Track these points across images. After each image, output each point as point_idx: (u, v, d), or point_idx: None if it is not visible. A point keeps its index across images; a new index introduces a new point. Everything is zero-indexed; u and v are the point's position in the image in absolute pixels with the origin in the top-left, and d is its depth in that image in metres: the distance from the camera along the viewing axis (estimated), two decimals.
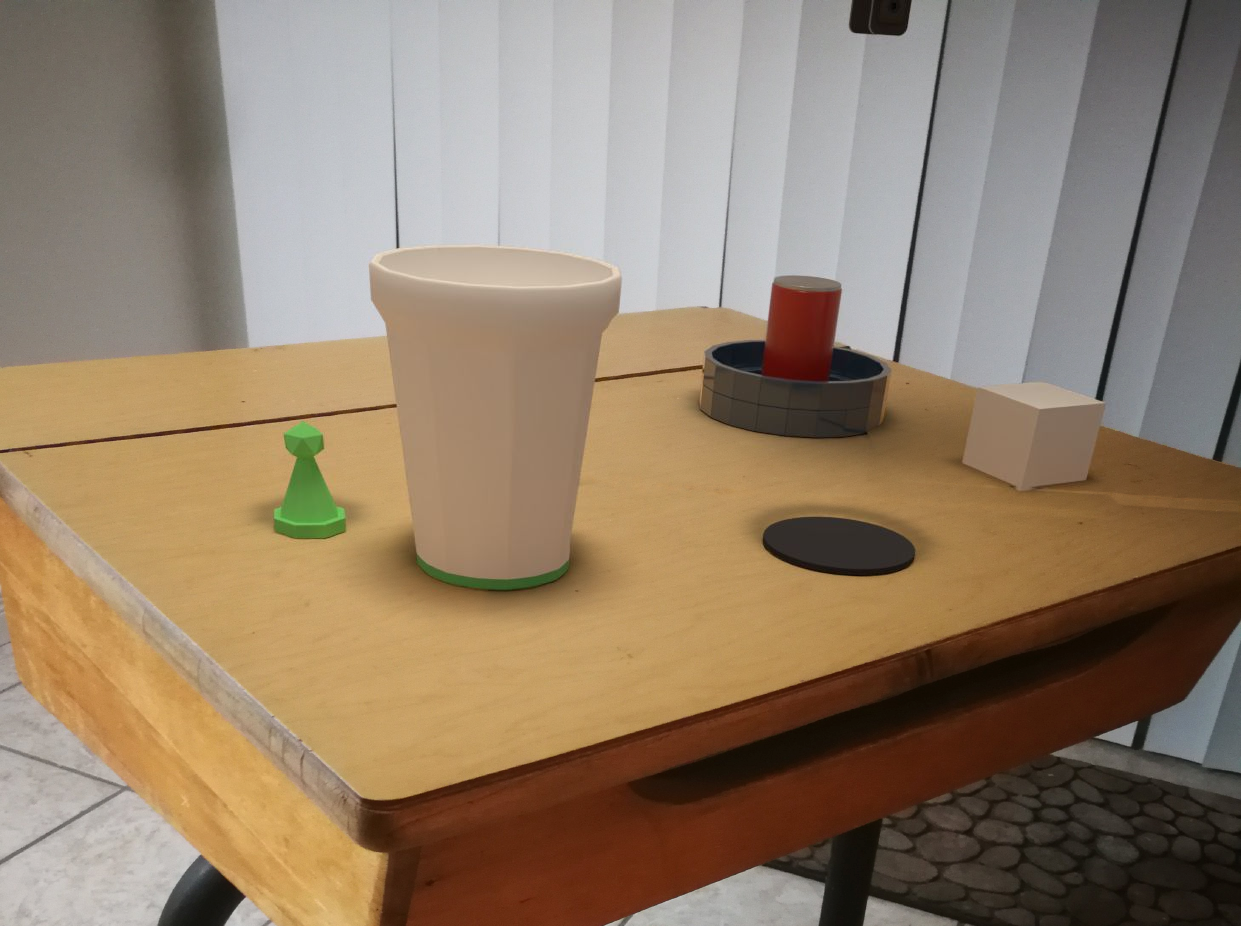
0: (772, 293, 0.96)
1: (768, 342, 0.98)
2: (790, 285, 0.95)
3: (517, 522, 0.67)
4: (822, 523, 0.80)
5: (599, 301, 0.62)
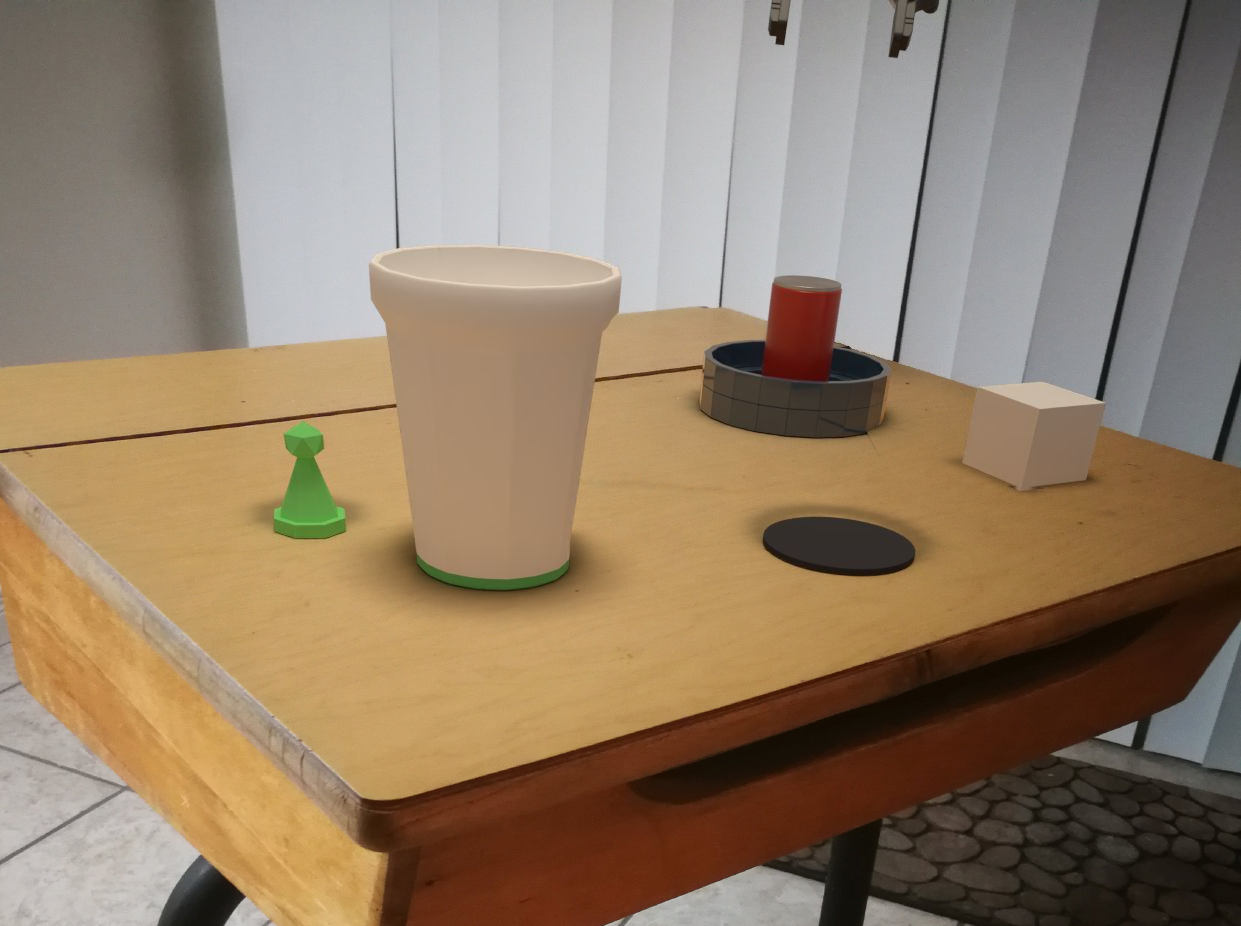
0: (772, 293, 0.96)
1: (768, 342, 0.98)
2: (790, 285, 0.95)
3: (517, 522, 0.67)
4: (822, 523, 0.80)
5: (599, 301, 0.62)
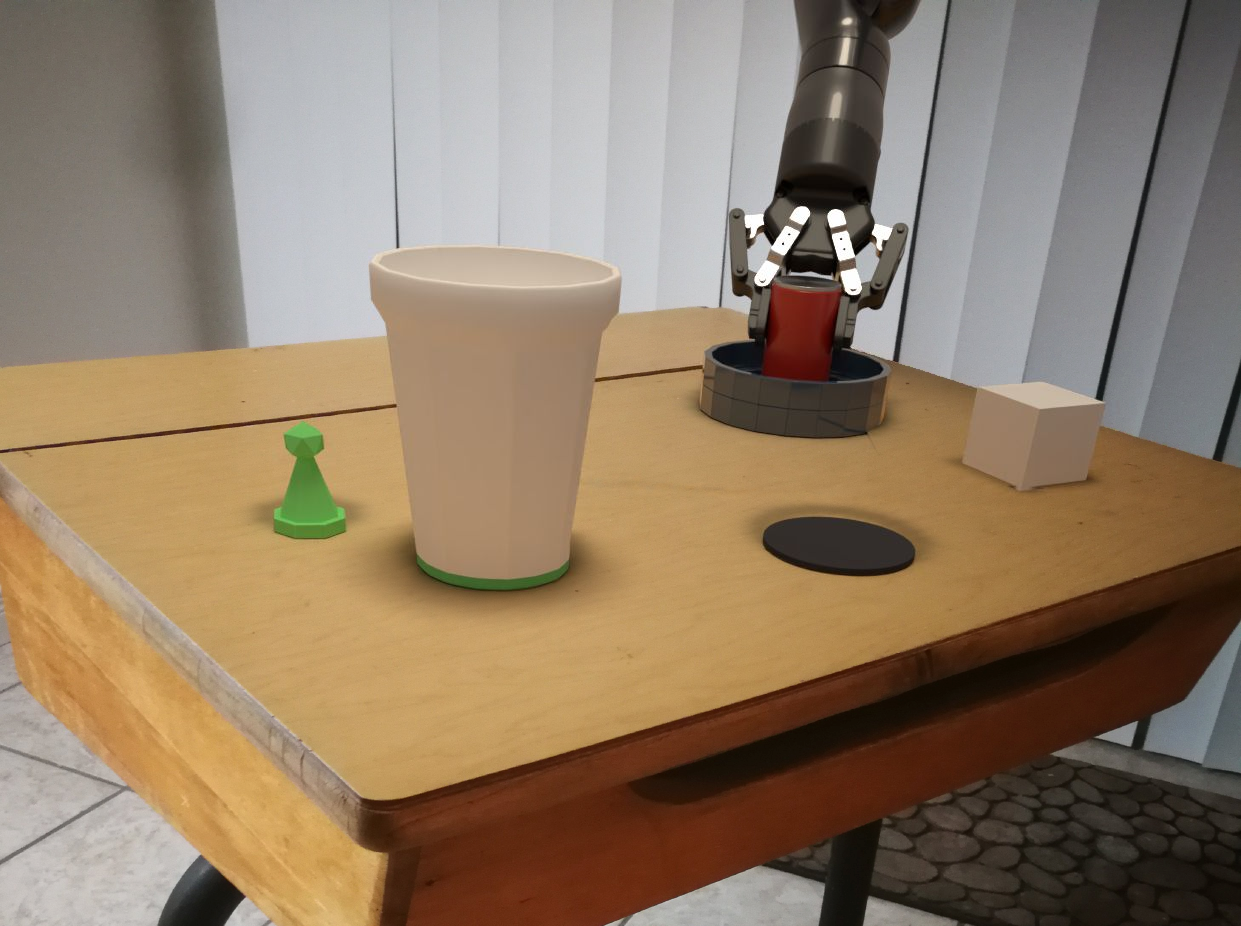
0: (772, 293, 0.96)
1: (768, 342, 0.98)
2: (790, 285, 0.95)
3: (517, 522, 0.67)
4: (822, 523, 0.80)
5: (599, 301, 0.62)
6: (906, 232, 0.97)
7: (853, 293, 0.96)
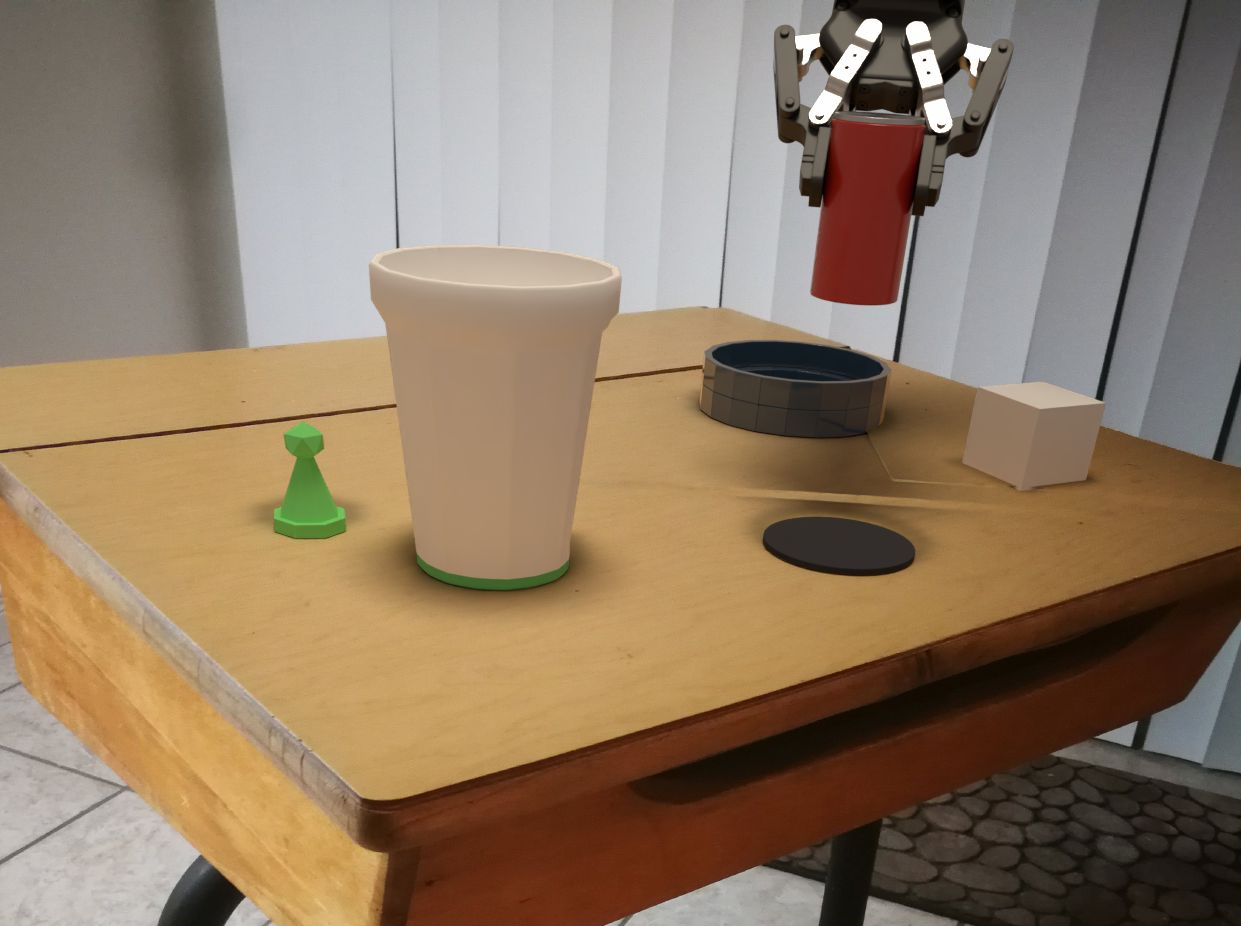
0: (833, 131, 0.73)
1: (826, 199, 0.74)
2: (858, 116, 0.71)
3: (517, 522, 0.67)
4: (822, 523, 0.80)
5: (599, 301, 0.62)
6: (1011, 51, 0.73)
7: (941, 131, 0.72)
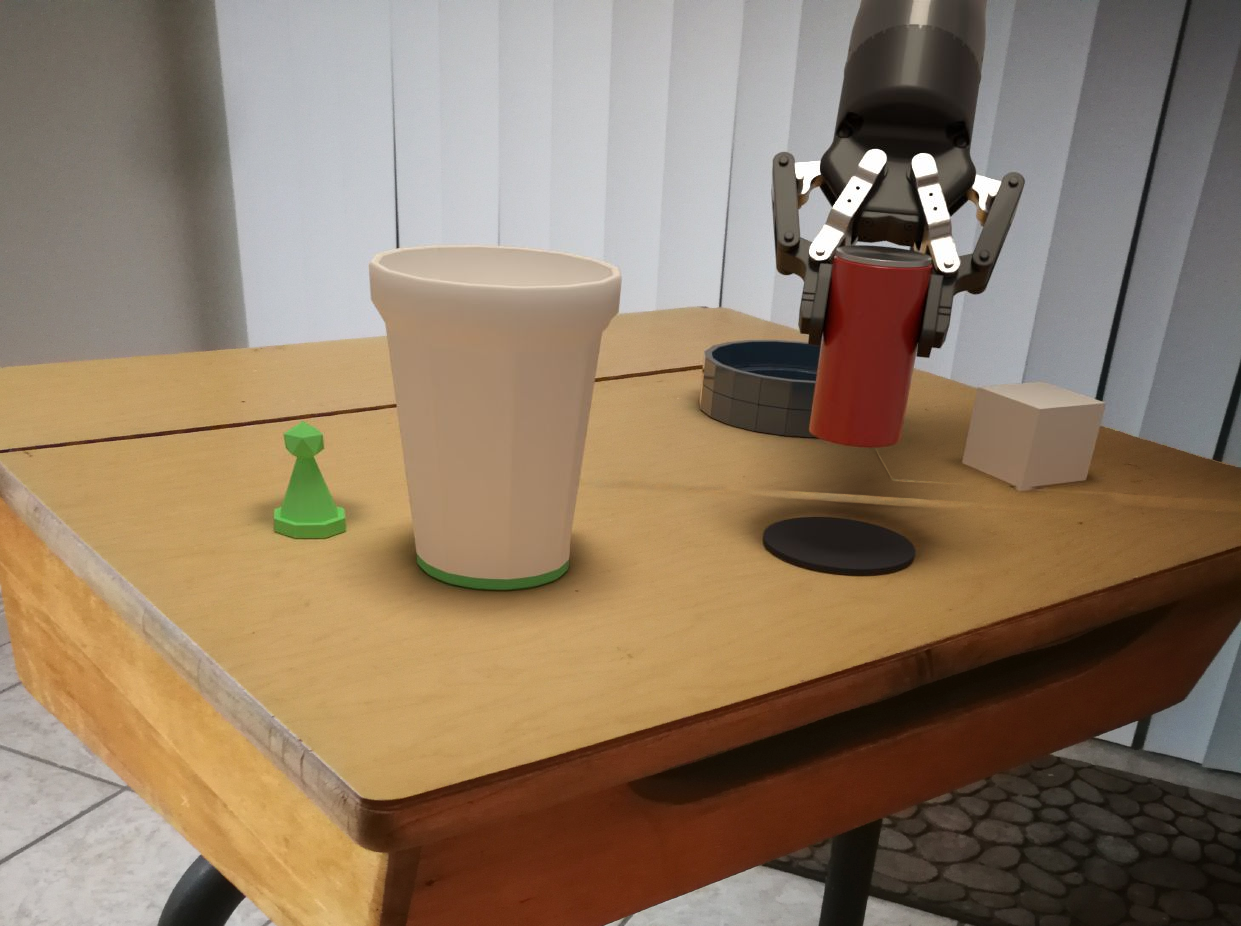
0: (834, 269, 0.69)
1: (827, 338, 0.70)
2: (861, 258, 0.67)
3: (517, 522, 0.67)
4: (822, 523, 0.80)
5: (599, 301, 0.62)
6: (1021, 185, 0.69)
7: (948, 270, 0.69)
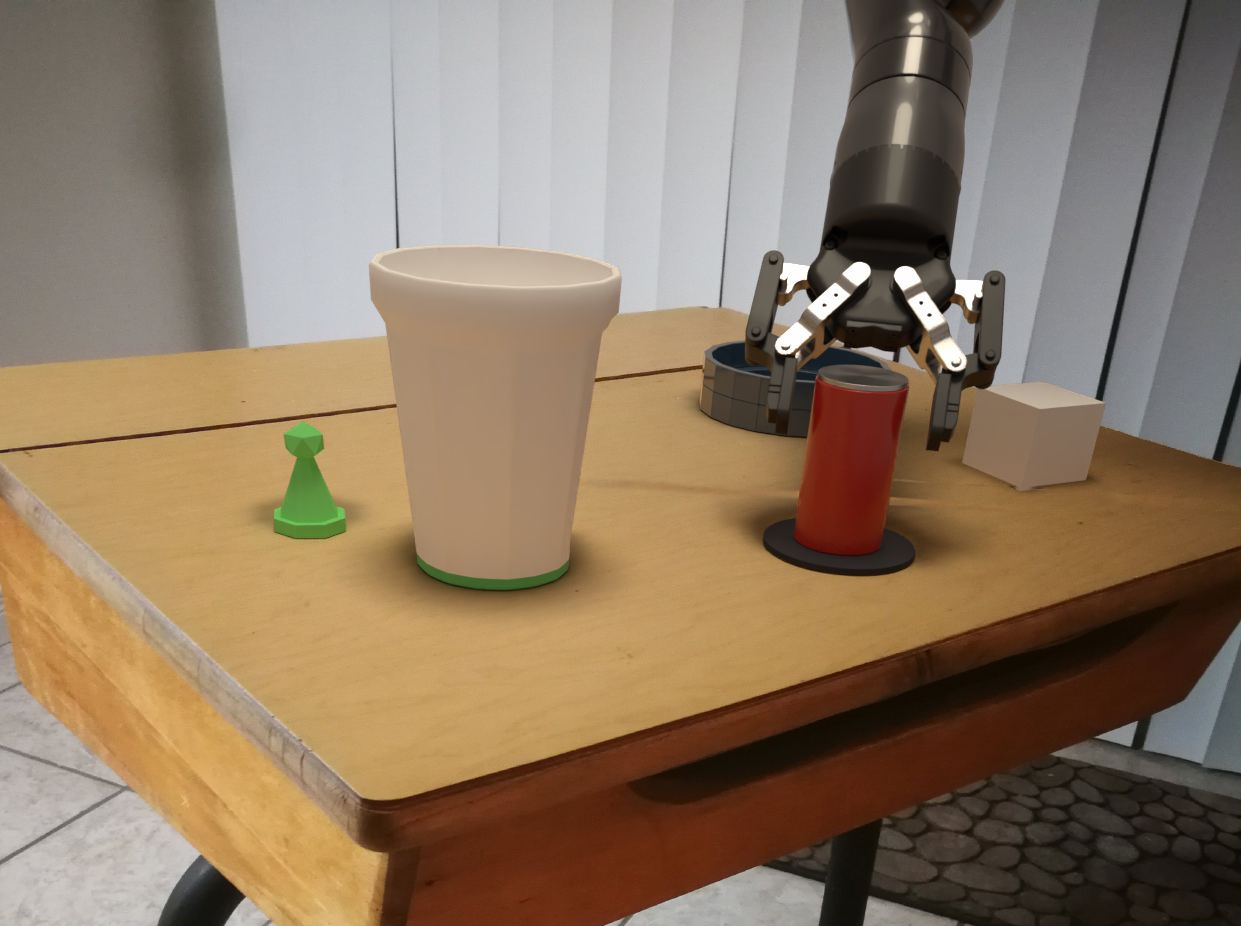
0: (816, 391, 0.72)
1: (809, 454, 0.74)
2: (841, 382, 0.71)
3: (517, 522, 0.67)
4: None
5: (599, 301, 0.62)
6: (1003, 281, 0.73)
7: (956, 369, 0.72)
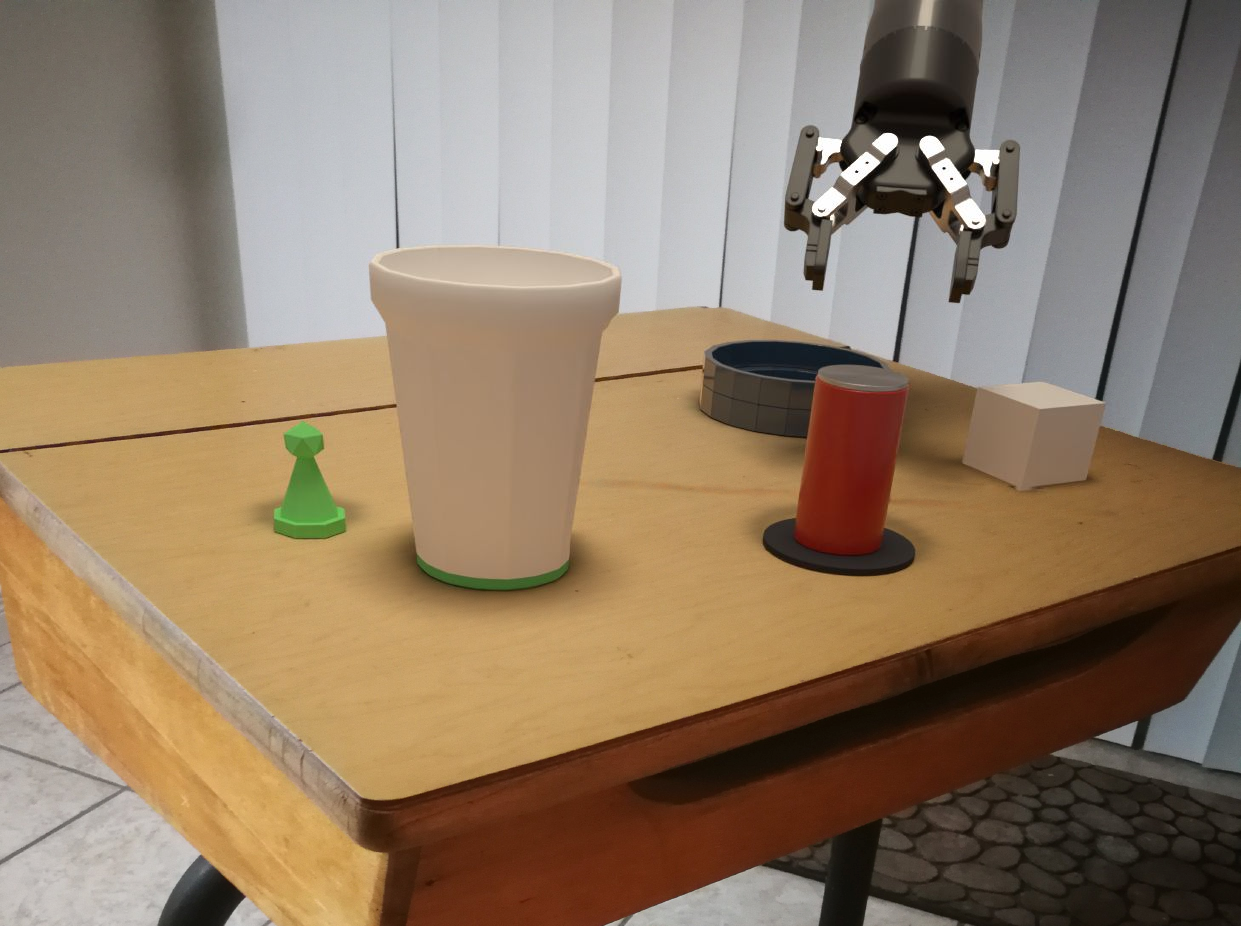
0: (816, 391, 0.72)
1: (809, 454, 0.74)
2: (841, 382, 0.71)
3: (517, 522, 0.67)
4: None
5: (599, 301, 0.62)
6: (1018, 149, 0.81)
7: (975, 227, 0.80)
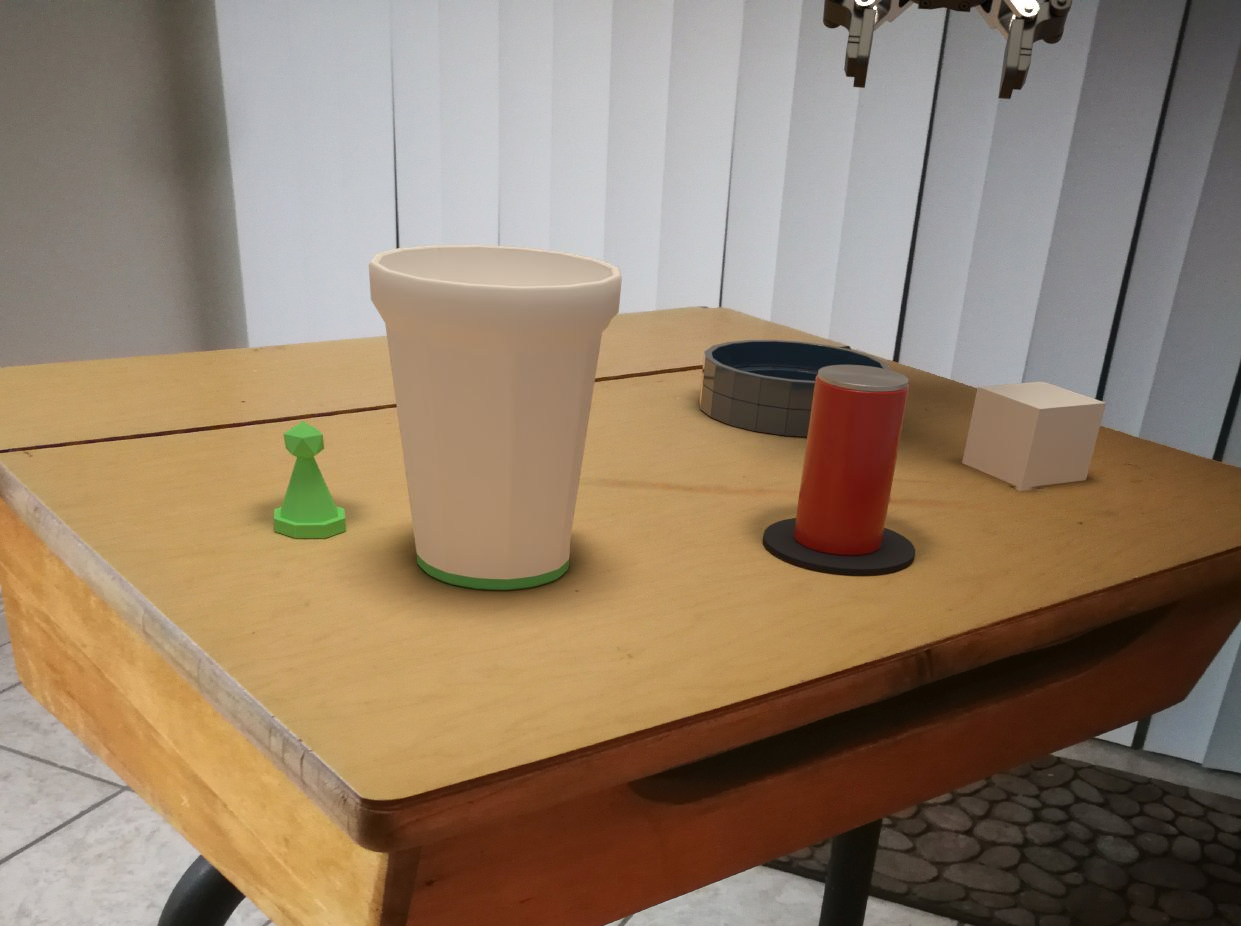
0: (816, 391, 0.72)
1: (809, 454, 0.74)
2: (841, 382, 0.71)
3: (517, 522, 0.67)
4: None
5: (599, 301, 0.62)
6: None
7: (1029, 15, 0.75)
